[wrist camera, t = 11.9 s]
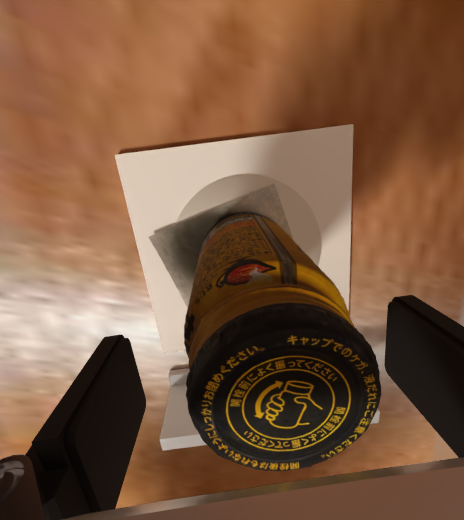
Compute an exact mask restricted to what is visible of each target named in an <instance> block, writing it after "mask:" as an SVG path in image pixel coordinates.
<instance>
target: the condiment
mask: <svg viewBox="0 0 464 520" xmlns="http://www.w3.org/2000/svg"><path fill="white" fill-rule="evenodd" d="M149 239H150V241H151V242H152V244H153V246H154V248H155V249H156V251H157V253H158V255H159V256H160V258H161V260H162V262H163V263H164V265H165V267H166V269H167V271H168V272H169V274H170V276H171V278H172V280H173V282H174V284H175V286H176V287H177V289H178V290H179V292H180V295H181V297H182V299H183V300H184V303H185V305H186V306H187V308H188V309H187V314H186V317H185V325H184V345H185V348H186V352H187V355H188V358H189V370H190V371H189V373H188V376H187V380H186V386H187V391H186V398H187V402H188V411H189V415H190V417H191V420H192V422H193V425H194V427H195V428H196V430H197V431H198V432H199V435H200V437H201V438H202V440H203V441H204V442H205V443H206V444H207V445H208V446H209V447H210V448H211V449H213V450H214V451H215V452H216V454H217V455H219V456H221V457H223V458H225V459H228V460H231V461H233V462H235V463H238V464H241V465H244V466H248V467H252V468H254V469H257V470H265V471H267V470H271V471H288V470H295V469H301V468H306V467H311V466H312V465H314V464H317V463H319V462H322V461H325V460H327V459H328V458H331V457H332V456H333V455H336V454H338V453H340V452H341V451H342V450H344V449H345V448H347V447H349V446H350V445H351V444H352V443H353V442H354V441H356V440H357V439H358V438H359V437H360V436H361V435H362V434H363V433H364V432H365V431H366V430H367V428H368V426H369V425H370V423H371V421H372V419H373V417H374V415H375V413H376V411H377V408H378V405H379V402H380V397H381V385H380V379H379V369H378V364H377V361H376V356H375V354H374V352H373V351H372V348H371V346H370V345H369V343H368V342H367V341H366V340H365V338H364V337H363V335H362V334H360V333H359V332H358V331H357V329H356V328H355V327H354V325H353V323H352V322H351V320H350V319H349V311H348V309H347V307H346V304H345V301H344V298H343V297H342V296H341V294H340V292H339V290H338V289H337V287H336V286H335V284H334V283H333V282H332V280H331V279H330V278H329V277H328V276H327V275H326V274H325V273H324V272H323V271H322V270H321V269H320V268H319V267H318V266H317V265H316V264H315V263H314V262H313V260H312V259H311V258H310V257H309V256H308V255H307V254H305V252H304V251H302V249H301V248H300V247H299V245H297V244H296V243H295V241H294V240H293V237H292V234H291V231H290V228H289V225H288V222H287V219H286V216H285V213H284V210H283V207H282V204H281V201H280V198H279V195H278V192H277V189H276V187H275V184H271V185H269V186H267V187H264V188H262V189H260V190H257V191H255V192H252V193H250V194H248V195H245V196H243V197H241V198H238V199H236V200H233V201H231V202H229V203H226V204H224V205H222V206H219V207H217V208H215V209H212V210H210V211H208V212H205V213H203V214H201V215H199V216H197V217H194V218H192V219H189V220H187V221H184V222H182V223H180V224H177V225H175V226H173V227H170V228H168V229H166V230H164V231H161V232H159V233H157V234H154V235H152V236H149Z"/></svg>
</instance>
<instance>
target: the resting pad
mask: <svg viewBox="0 0 464 520" xmlns="http://www.w3.org/2000/svg"><path fill="white" fill-rule="evenodd" d="M115 158H116V163H117V167H118V171H119V175H120V179H121V183H122V187H123V191H124V195H125V199H126V203H127V207H128V211H129V215H130V219H131V223H132V227H133V231H134V235H135V239H136V243H137V247H138V251H139V255H140V259H141V263H142V267H143V271H144V275H145V279H146V283H147V288H148V292H149V296H150V300H151V304H152V308H153V312H154V316H155V320H156V324H157V328H158V332H159V336H160V340H161V344H162V348H163V352H164V353H166V352H174V351H182V350H186V348H185V345H184V325H185V317H186V314H187V309H188V308H187V306H186V305H185V303H184V300H183V299H182V297H181V295H180V292H179V290H178V289H177V287H176V286H175V284H174V282H173V280H172V278H171V276H170V274H169V272H168V271H167V269H166V267H165V265H164V263H163V262H162V260H161V258H160V256H159V255H158V253H157V251H156V249H155V248H154V246H153V244H152V242H151V241H150V239H149V236H152V235H154V234H157V233H159V232H161V231H164V230H166V229H168V228H170V227H173V226H175V225H177V224H180V223H182V222H184V221H187V220H189V219H192V218H194V217H197V216H199V215H201V214H203V213H205V212H208V211H210V210H212V209H215V208H217V207H219V206H222V205H224V204H226V203H229V202H231V201H233V200H236V199H238V198H241V197H243V196H245V195H248V194H250V193H252V192H255V191H257V190H260V189H262V188H264V187H267V186H269V185H271V184H275V187H276V189H277V192H278V195H279V198H280V201H281V204H282V207H283V210H284V213H285V216H286V219H287V222H288V225H289V228H290V231H291V234H292V237H293V240H294V241H295V243H296V244H297V245H299V247H300V248H301V249H302V251H304V252H305V254H307V255H308V256H309V257H310V258H311V259H312V260H313V262H314V263H315V264H316V265H317V266H318V267H319V268H320V269H321V270H322V271H323V272H324V273H325V274H326V275H327V276H328V277H329V278H330V279H331V280H332V282H333V283H334V284H335V286H336V287H337V289H338V290H339V292H340V294H341V296H342V297H343V298H344V301H345V304H346V307H347V309H348V311H349V286H350V245H351V205H352V164H353V124H350V125H342V126H334V127H327V128H319V129H311V130H303V131H296V132H288V133H280V134H272V135H265V136H257V137H249V138H241V139H234V140H226V141H218V142H210V143H203V144H195V145H187V146H180V147H172V148H164V149H156V150H149V151H141V152H133V153H125V154H118V155H115Z"/></svg>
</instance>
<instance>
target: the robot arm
mask: <svg viewBox="0 0 464 520" xmlns="http://www.w3.org/2000/svg"><path fill="white" fill-rule="evenodd" d="M385 369H386V372H387V373H388V375H389V376H390V377H391V379H392V380H393V381H394V382H395V383H396V384H397V386H398V387H399V388H400V389H401V390H402V391H403V393H404V394H405V395H406V396H407V397H408V399H409V400H410V401H411V402H412V403H413V404H414V406H415V407H416V408H417V409H418V410H419V411H420V413H421V414H422V415H423V416H424V417H425V418H426V420H427V421H428V422H429V423H430V424H431V425H432V427H433V428H434V429H435V430H436V431H437V432H438V434H439V435H440V436H441V437H442V438H443V440H444V441H445V442H446V443H447V444H448V445H449V447H450V448H451V449H452V450H453V451H454V452H455V454H456V455H457V456H458V457H459V458H454V459H447V460H440V461H433V462H426V463H418V464H411V465H404V466H397V467H390V468H382V469H375V470H368V471H362V472H355V473H348V474H341V475H334V476H327V477H320V478H313V479H306V480H300V481H293V482H286V483H279V484H272V485H265V486H259V487H252V488H245V489H239V490H232V491H226V492H219V493H212V494H206V495H199V496H193V497H186V498H180V499H173V500H166V501H160V502H153V503H148V504H142V505H136V506H130V507H124V508H118V509H115V508H116V504H117V501H118V498H119V494H120V491H121V488H122V484H123V481H124V478H125V475H126V471H127V468H128V465H129V461H130V458H131V455H132V451H133V448H134V445H135V442H136V438H137V435H138V432H139V428H140V425H141V422H142V419H143V415H144V412H145V408H146V398H145V394H144V390H143V387H142V383H141V380H140V376H139V372H138V369H137V365H136V362H135V358H134V354H133V351H132V347H131V343H130V340H129V339H128V338H124V336H123V335H115V336H108V337H104V338H103V340H102V341H101V342H100V344H99V345H98V347H97V348H96V350H95V351H94V353H93V354H92V356H91V357H90V358H89V360H88V361H87V363H86V364H85V366H84V367H83V369H82V370H81V372H80V373H79V374H78V376H77V377H76V379H75V380H74V382H73V383H72V385H71V386H70V388H69V389H68V390H67V392H66V393H65V395H64V396H63V398H62V399H61V401H60V402H59V403H58V405H57V406H56V408H55V409H54V411H53V412H52V414H51V415H50V417H49V418H48V419H47V421H46V422H45V424H44V425H43V427H42V428H41V430H40V431H39V433H38V434H37V435H36V437H35V438H34V440H33V441H32V446H31V447H30V449H29V450H28V452H27V453H26V455H23V454H22V455H12V456H9V457H6V458H3V459H1V460H0V520H464V327H463V326H462V325H460V324H458V323H457V322H455V321H454V320H452V319H450V318H449V317H447V316H446V315H444V314H442V313H441V312H439V311H438V310H436V309H434V308H433V307H431V306H429V305H428V304H426V303H425V302H423V301H421V300H420V299H418V298H417V297H415V296H413V295H408V296H401V297H395V298H393V300H392V302H390V303H389V304H388V314H387V331H386V348H385Z"/></svg>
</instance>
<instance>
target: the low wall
mask: <svg viewBox="0 0 464 520" xmlns="http://www.w3.org/2000/svg"><path fill="white" fill-rule="evenodd" d="M189 371H190V370H189V368H184V369H177V370H170V372H169V380H170V384H171V389H170V393H169V398H168V402H167V407H166V411H165V416H164V420H163V425H162V430H161V434H160V439H159V440H160V444H161V447H162V450H163V451H164V450H172V449H179V448H187V447H195V446H203V445H207V444H206V443H205V442H204V441H203V440H202V438H201V437H200V435H199V432H198V431H197V430H196V428H195V427H194V425H193V422H192V420H191V417H190V415H189V411H188V402H187V398H186V391H187V386H186V380H187V376H188V373H189ZM379 415H380V411H379V409H378V408H377V411H376V413H375V415H374V417H373V419H372V421H371V423H370V424H374V423H379Z"/></svg>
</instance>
